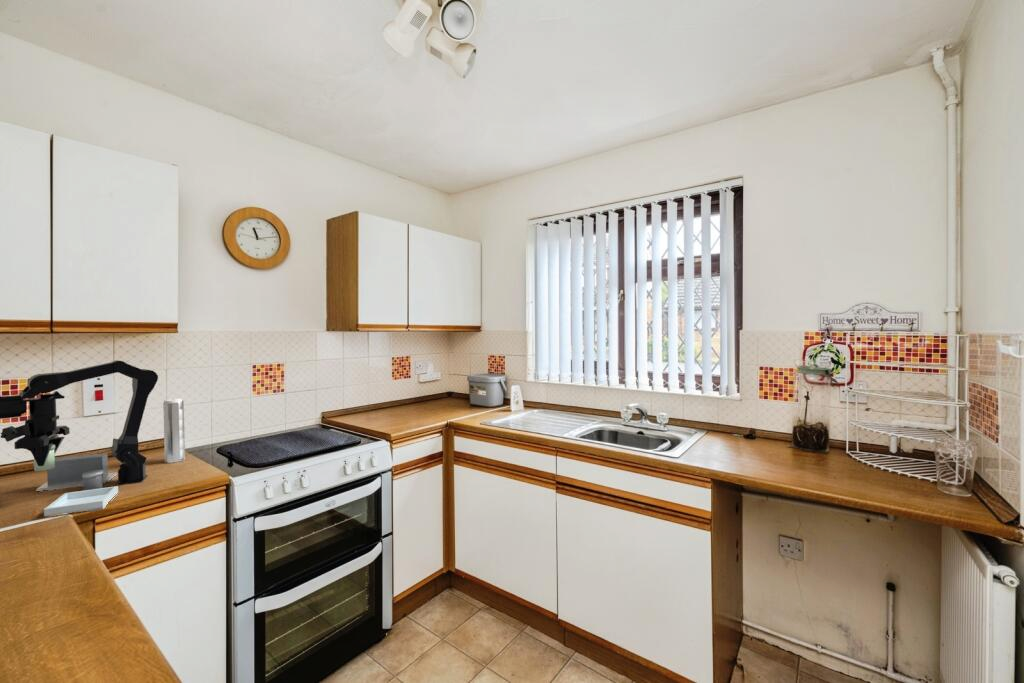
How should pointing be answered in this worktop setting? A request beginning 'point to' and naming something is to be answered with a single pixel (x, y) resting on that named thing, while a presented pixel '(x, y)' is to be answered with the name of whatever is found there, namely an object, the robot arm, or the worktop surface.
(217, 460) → the worktop surface
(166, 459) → the silver metal cylinder
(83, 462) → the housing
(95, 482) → the grey cup
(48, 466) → the cylinder
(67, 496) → the tray
